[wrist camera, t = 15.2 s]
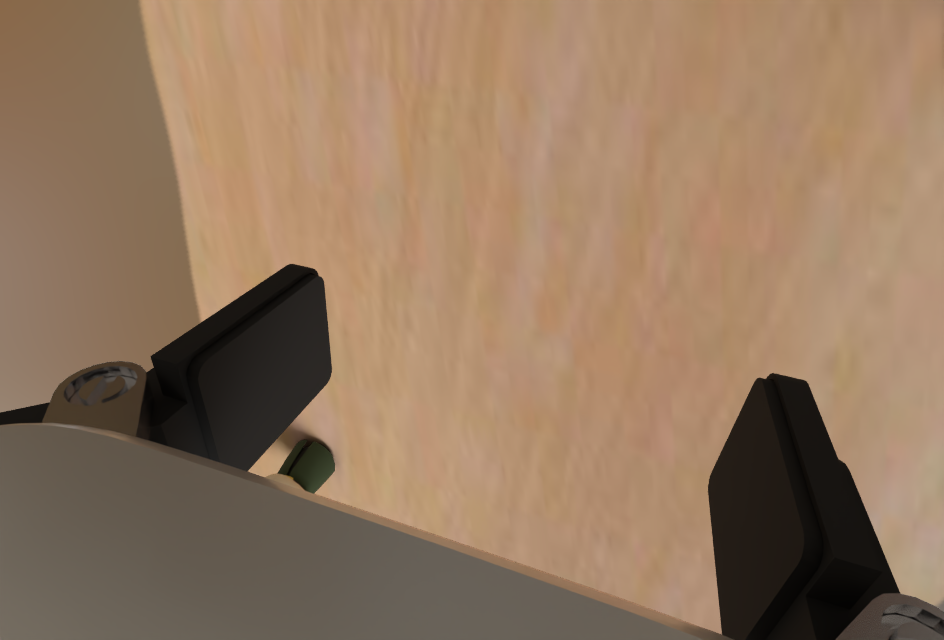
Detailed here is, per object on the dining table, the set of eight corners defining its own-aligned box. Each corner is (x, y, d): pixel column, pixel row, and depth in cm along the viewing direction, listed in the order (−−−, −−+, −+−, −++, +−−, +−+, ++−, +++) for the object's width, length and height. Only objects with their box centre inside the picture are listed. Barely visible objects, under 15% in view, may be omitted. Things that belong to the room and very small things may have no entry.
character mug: (348, 442, 65) (288, 524, 55) (357, 481, 69) (303, 566, 58) (277, 428, 69) (207, 503, 58) (289, 466, 72) (225, 544, 61)
